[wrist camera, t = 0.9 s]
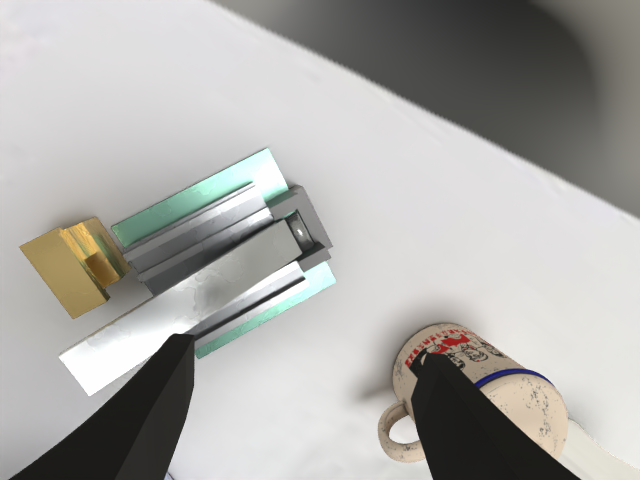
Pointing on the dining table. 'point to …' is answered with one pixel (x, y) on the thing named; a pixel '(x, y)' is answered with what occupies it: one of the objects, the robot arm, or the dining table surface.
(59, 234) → the clip
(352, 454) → the dining table surface
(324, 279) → the block
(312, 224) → the grey forked bracket
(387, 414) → the teacup with lid
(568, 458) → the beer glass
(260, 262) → the grey long flat bar
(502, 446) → the robot arm
